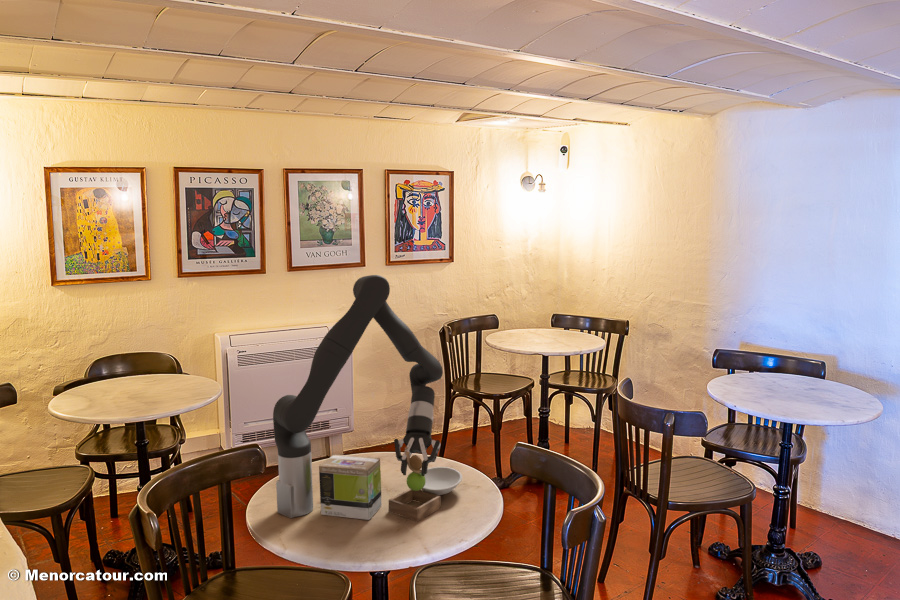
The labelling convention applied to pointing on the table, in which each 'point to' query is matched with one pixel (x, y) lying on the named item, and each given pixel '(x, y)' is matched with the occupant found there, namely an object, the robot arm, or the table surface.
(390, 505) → the brown wooden square tray
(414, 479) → the snail figurine
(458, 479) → the dish
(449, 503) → the table surface
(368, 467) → the tea box
